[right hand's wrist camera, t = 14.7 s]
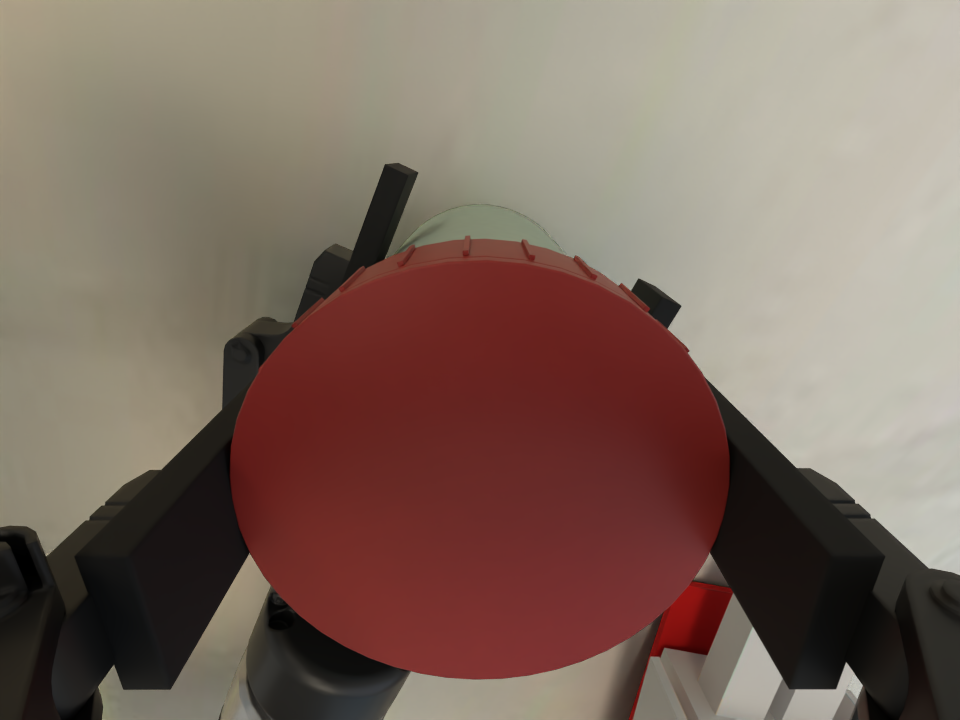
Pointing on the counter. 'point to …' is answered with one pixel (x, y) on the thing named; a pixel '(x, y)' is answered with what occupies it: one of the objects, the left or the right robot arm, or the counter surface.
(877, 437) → the counter surface
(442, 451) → the lid
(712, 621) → the toy
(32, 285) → the counter surface
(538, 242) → the jar
